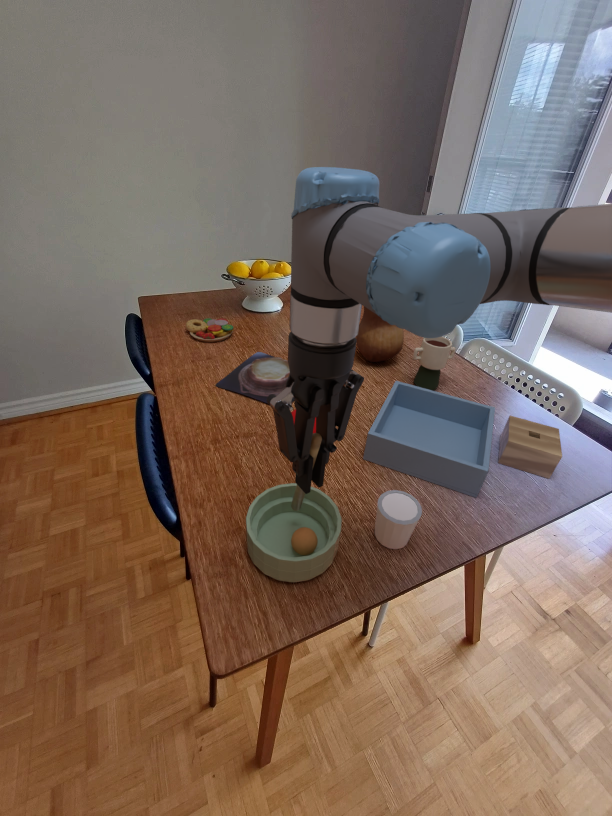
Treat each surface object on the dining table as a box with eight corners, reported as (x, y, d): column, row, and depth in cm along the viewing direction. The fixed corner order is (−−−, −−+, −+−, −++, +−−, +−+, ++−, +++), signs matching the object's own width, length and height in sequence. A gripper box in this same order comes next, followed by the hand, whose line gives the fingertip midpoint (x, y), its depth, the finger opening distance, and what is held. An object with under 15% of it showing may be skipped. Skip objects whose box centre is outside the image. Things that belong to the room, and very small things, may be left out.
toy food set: (182, 330, 123) (181, 320, 121) (221, 321, 130) (220, 312, 128) (201, 347, 114) (200, 336, 112) (241, 337, 121) (241, 327, 119)
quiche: (258, 352, 114) (258, 339, 112) (322, 371, 107) (323, 358, 105) (213, 385, 98) (212, 371, 96) (284, 411, 92) (285, 396, 89)
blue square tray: (476, 498, 73) (488, 471, 69) (362, 459, 80) (367, 433, 76) (485, 431, 90) (495, 407, 86) (390, 404, 96) (395, 380, 93)
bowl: (315, 601, 55) (319, 577, 52) (229, 560, 60) (227, 535, 56) (349, 526, 66) (354, 502, 63) (274, 496, 70) (274, 472, 67)
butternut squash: (402, 371, 110) (423, 281, 95) (354, 368, 110) (367, 278, 95) (394, 348, 121) (412, 265, 107) (350, 345, 121) (362, 261, 106)
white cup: (385, 558, 62) (394, 529, 58) (362, 524, 67) (369, 496, 63) (421, 544, 64) (431, 516, 60) (396, 512, 69) (404, 484, 65)
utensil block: (549, 479, 78) (562, 456, 75) (497, 463, 81) (508, 440, 78) (547, 450, 86) (559, 428, 82) (500, 436, 89) (509, 415, 85)
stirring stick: (302, 509, 64) (325, 436, 51) (295, 514, 63) (316, 441, 50) (295, 502, 64) (317, 428, 52) (288, 507, 63) (308, 433, 51)
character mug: (438, 378, 108) (451, 334, 101) (450, 392, 102) (465, 347, 95) (400, 379, 106) (411, 334, 99) (410, 394, 101) (422, 348, 93)
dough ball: (293, 554, 57) (320, 551, 58) (290, 526, 59) (317, 523, 59) (291, 558, 61) (317, 555, 61) (289, 531, 62) (314, 528, 63)
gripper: (351, 309, 49) (332, 451, 63) (247, 333, 42) (251, 487, 56) (394, 332, 45) (364, 480, 58) (285, 364, 37) (280, 524, 51)
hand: (309, 483), depth 57 cm, fingers closed on stirring stick, 1 cm apart
